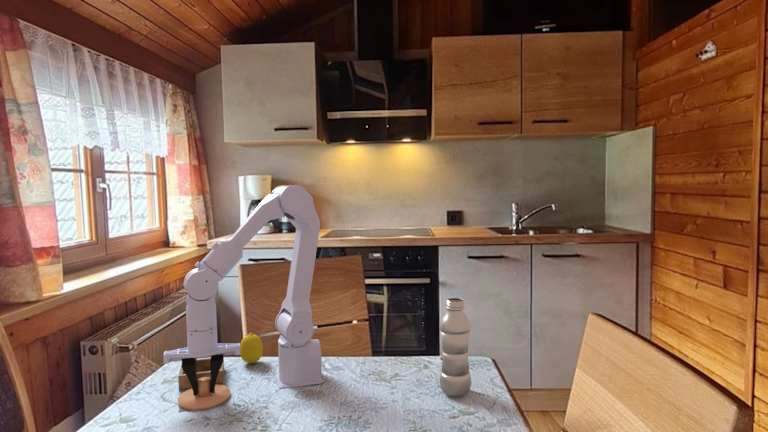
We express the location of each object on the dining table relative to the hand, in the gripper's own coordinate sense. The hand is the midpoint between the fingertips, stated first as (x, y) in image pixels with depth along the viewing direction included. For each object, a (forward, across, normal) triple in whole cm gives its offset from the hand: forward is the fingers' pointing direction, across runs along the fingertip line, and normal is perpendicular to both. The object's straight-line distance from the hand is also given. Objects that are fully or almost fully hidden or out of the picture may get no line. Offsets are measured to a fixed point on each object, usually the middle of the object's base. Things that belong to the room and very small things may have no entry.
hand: (204, 392), depth 95 cm
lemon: (+2, -10, -16) cm, 19 cm away
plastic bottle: (+2, -50, +14) cm, 52 cm away
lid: (+1, 0, 0) cm, 1 cm away
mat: (+2, 0, 0) cm, 2 cm away
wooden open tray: (+2, +1, -10) cm, 11 cm away
